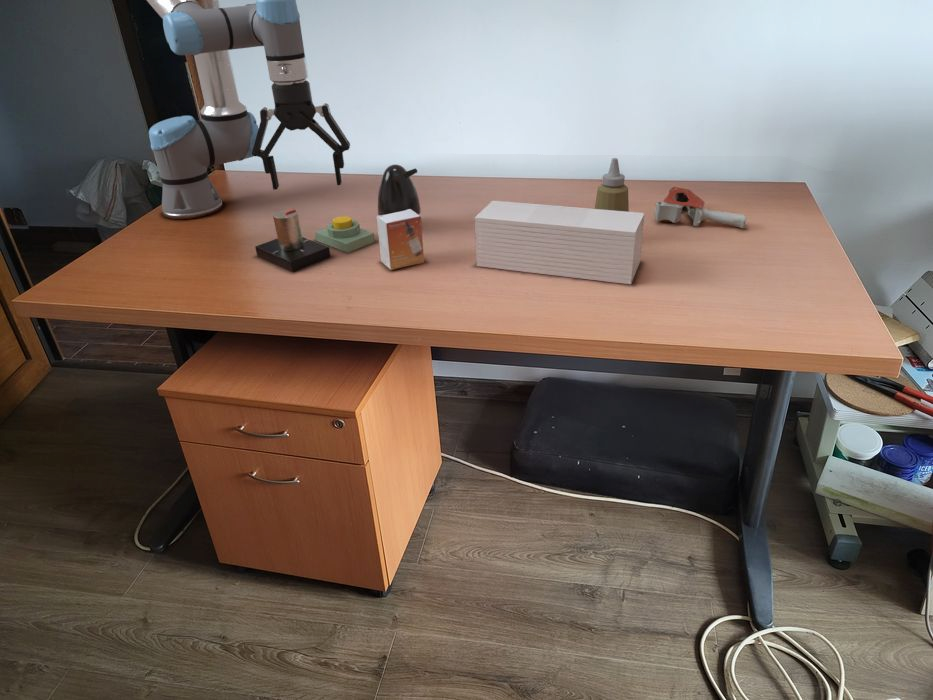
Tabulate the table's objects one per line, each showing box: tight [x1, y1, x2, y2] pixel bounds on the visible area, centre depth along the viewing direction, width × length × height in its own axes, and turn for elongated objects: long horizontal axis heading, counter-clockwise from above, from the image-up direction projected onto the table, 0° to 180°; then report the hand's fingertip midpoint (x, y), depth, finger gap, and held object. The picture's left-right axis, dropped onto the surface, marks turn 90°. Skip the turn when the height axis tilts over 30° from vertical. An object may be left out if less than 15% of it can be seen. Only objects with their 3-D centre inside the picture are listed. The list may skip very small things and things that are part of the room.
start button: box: [332, 215, 353, 229], centre depth 154 cm, size 4×4×2 cm
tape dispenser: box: [654, 186, 747, 229], centre depth 156 cm, size 18×5×20 cm
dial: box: [272, 208, 303, 251], centre depth 146 cm, size 5×5×8 cm
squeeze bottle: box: [594, 157, 630, 212], centre depth 145 cm, size 8×8×18 cm
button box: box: [314, 219, 376, 254], centre depth 155 cm, size 12×8×4 cm, turn 47°
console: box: [254, 236, 331, 273], centre depth 149 cm, size 14×10×3 cm
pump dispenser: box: [377, 164, 422, 216], centre depth 158 cm, size 10×10×15 cm
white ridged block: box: [474, 200, 645, 285], centre depth 137 cm, size 32×11×11 cm, turn 69°
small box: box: [376, 209, 425, 271], centre depth 141 cm, size 8×6×10 cm
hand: (307, 185), depth 145 cm, fingers open, 13 cm apart
